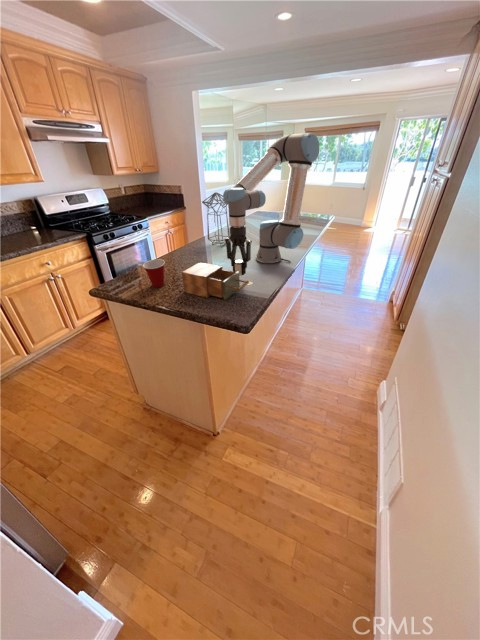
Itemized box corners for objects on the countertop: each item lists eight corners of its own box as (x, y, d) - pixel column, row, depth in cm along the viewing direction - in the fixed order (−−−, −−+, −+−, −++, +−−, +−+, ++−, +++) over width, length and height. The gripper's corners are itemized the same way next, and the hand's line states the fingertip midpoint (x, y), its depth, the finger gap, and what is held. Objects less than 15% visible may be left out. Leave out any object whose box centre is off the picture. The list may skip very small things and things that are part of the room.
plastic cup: (142, 288, 135) (137, 265, 128) (155, 279, 143) (151, 258, 137) (160, 291, 131) (156, 267, 125) (173, 282, 140) (169, 260, 134)
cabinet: (223, 286, 135) (222, 266, 129) (207, 297, 124) (205, 276, 119) (201, 281, 140) (199, 262, 135) (184, 292, 130) (181, 272, 124)
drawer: (251, 290, 127) (251, 273, 123) (237, 302, 118) (237, 284, 113) (218, 284, 135) (217, 267, 130) (203, 294, 125) (201, 277, 121)
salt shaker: (244, 272, 137) (243, 259, 133) (243, 276, 133) (242, 263, 129) (235, 272, 137) (235, 259, 134) (234, 275, 134) (233, 262, 130)
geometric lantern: (222, 248, 188) (219, 194, 170) (204, 246, 195) (199, 193, 176) (233, 243, 200) (232, 191, 181) (216, 240, 206) (212, 190, 188)
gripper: (258, 225, 122) (258, 273, 134) (225, 222, 129) (228, 268, 141) (251, 229, 116) (251, 279, 129) (217, 225, 123) (220, 273, 136)
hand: (239, 273), depth 135 cm, fingers closed on salt shaker, 4 cm apart
